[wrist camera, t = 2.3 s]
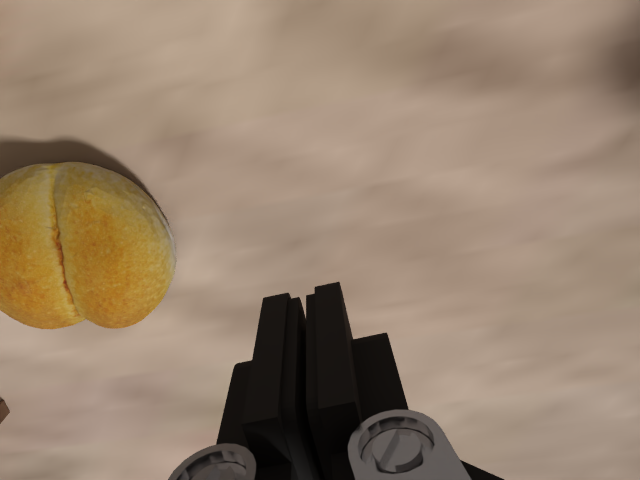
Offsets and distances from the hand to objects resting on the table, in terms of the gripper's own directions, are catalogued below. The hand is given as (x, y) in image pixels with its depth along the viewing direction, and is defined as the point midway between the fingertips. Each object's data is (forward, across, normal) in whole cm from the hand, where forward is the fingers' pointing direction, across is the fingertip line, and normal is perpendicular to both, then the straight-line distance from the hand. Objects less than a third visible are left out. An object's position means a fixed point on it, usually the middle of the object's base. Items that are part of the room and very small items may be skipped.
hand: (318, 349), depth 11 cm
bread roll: (+15, +12, 0) cm, 19 cm away
